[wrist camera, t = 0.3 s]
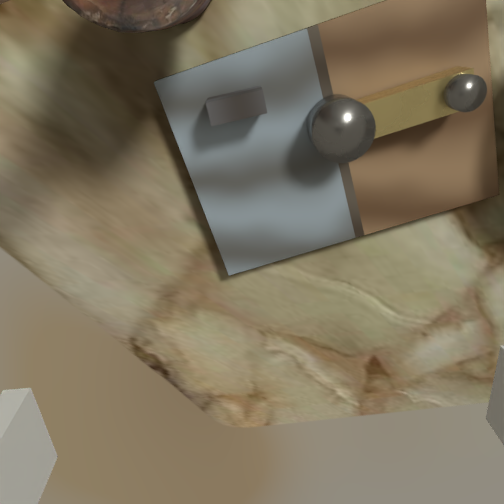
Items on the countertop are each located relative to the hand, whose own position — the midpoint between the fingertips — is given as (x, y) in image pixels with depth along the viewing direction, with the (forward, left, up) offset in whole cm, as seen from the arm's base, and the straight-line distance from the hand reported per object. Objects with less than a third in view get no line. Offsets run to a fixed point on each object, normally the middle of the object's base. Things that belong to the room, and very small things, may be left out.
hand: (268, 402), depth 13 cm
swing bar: (-1, +11, -25) cm, 27 cm away
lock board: (0, +8, -27) cm, 28 cm away
